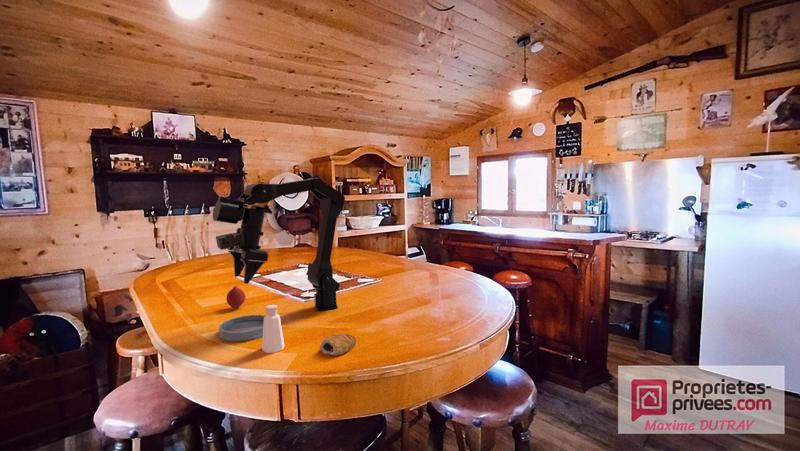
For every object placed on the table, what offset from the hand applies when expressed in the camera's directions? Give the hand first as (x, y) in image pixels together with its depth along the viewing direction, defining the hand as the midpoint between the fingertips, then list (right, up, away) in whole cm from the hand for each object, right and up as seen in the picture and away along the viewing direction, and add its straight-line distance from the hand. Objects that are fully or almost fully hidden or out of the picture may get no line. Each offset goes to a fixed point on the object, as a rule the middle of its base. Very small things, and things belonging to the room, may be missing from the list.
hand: (241, 279), depth 107 cm
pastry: (+30, -16, -14) cm, 37 cm away
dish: (+2, -14, -2) cm, 15 cm away
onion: (-10, -13, +19) cm, 25 cm away
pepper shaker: (+14, -16, -13) cm, 25 cm away
